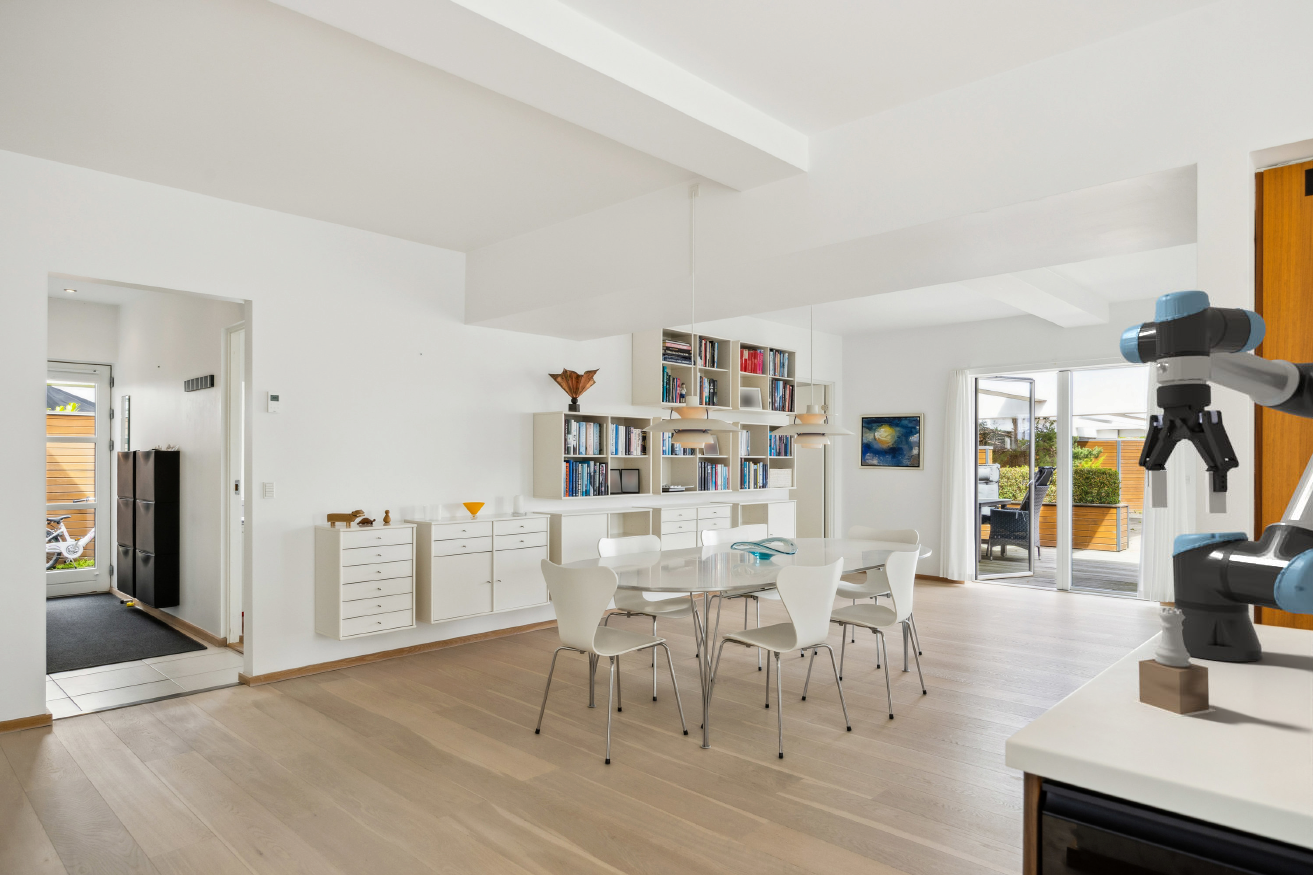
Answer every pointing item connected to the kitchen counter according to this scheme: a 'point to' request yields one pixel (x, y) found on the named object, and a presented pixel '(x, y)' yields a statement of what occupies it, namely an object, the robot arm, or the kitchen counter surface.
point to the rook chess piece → (1172, 640)
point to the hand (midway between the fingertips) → (1185, 510)
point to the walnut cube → (1174, 687)
